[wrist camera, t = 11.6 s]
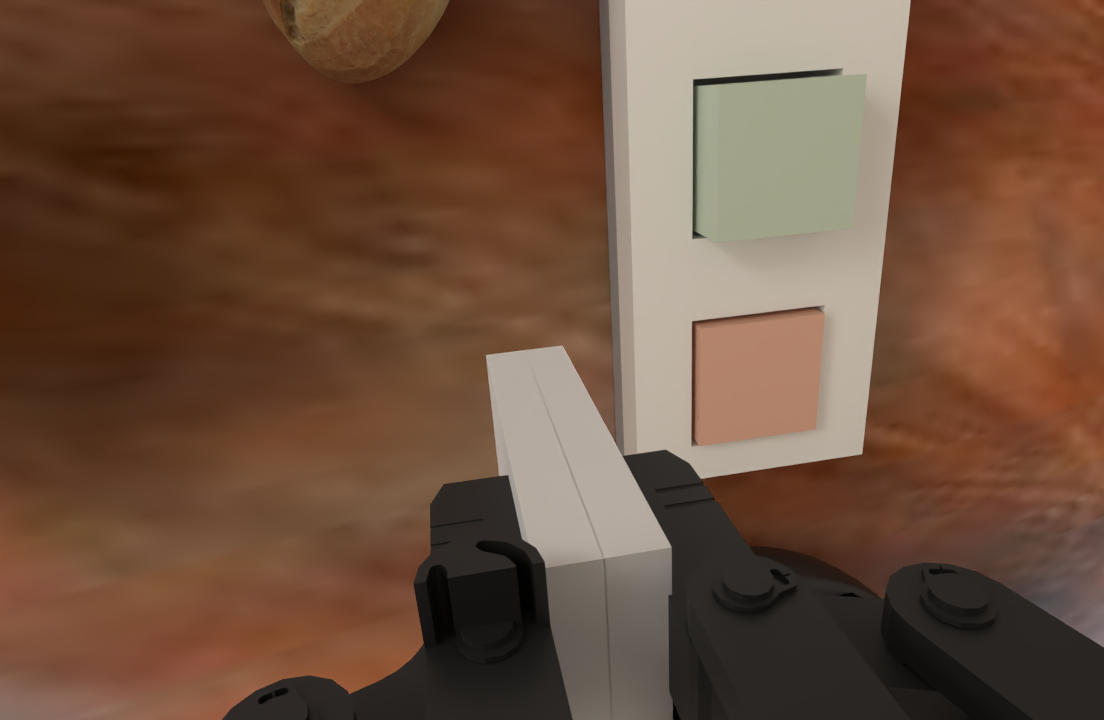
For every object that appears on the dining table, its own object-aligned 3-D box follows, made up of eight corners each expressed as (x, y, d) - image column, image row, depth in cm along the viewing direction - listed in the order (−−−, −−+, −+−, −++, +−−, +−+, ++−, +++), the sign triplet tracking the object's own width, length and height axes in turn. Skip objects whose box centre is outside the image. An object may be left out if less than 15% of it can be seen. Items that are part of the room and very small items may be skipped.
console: (616, 448, 45) (638, 488, 40) (589, -248, 32) (616, -306, 27) (819, 418, 47) (862, 454, 42) (872, -251, 34) (943, -306, 29)
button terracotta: (680, 421, 42) (699, 446, 39) (680, 311, 40) (701, 329, 37) (789, 406, 43) (815, 429, 40) (796, 297, 41) (824, 313, 38)
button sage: (693, 230, 36) (716, 242, 33) (694, 85, 34) (719, 85, 31) (819, 217, 37) (853, 228, 34) (829, 75, 35) (866, 73, 32)
